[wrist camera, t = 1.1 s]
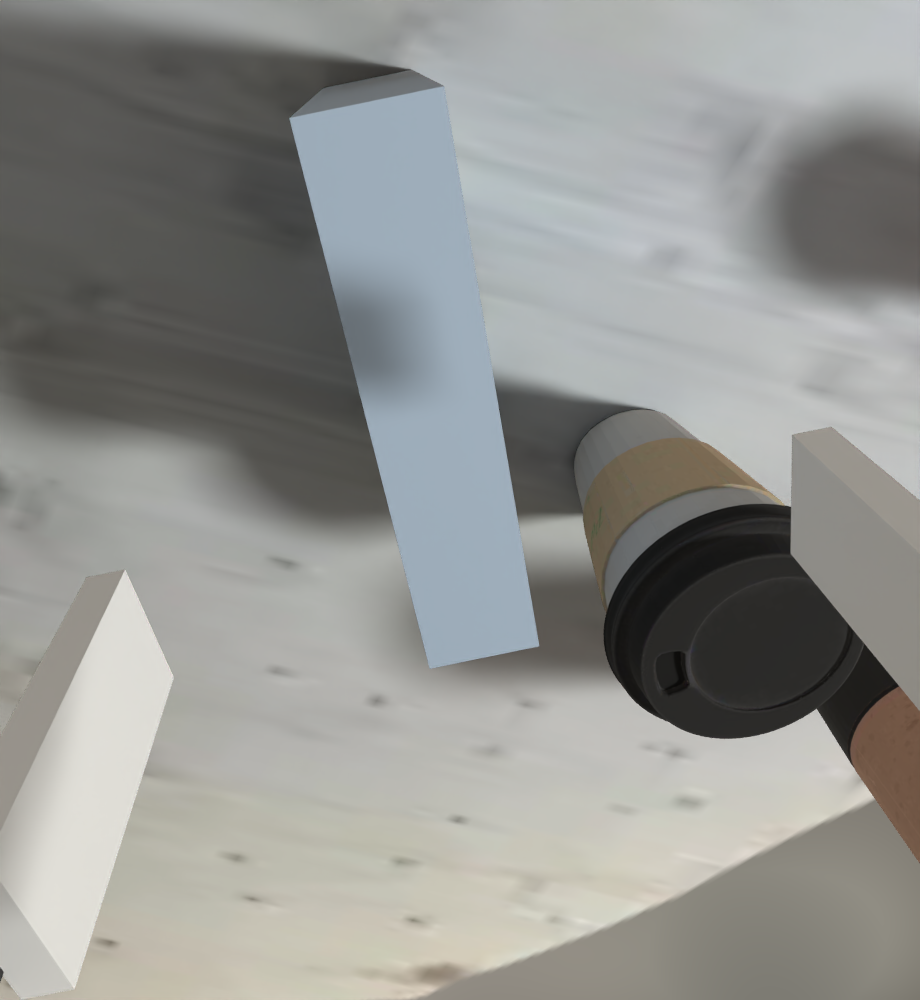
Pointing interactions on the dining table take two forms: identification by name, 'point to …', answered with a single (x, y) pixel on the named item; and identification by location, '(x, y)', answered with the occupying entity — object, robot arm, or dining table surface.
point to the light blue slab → (420, 354)
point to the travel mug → (880, 741)
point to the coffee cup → (703, 584)
